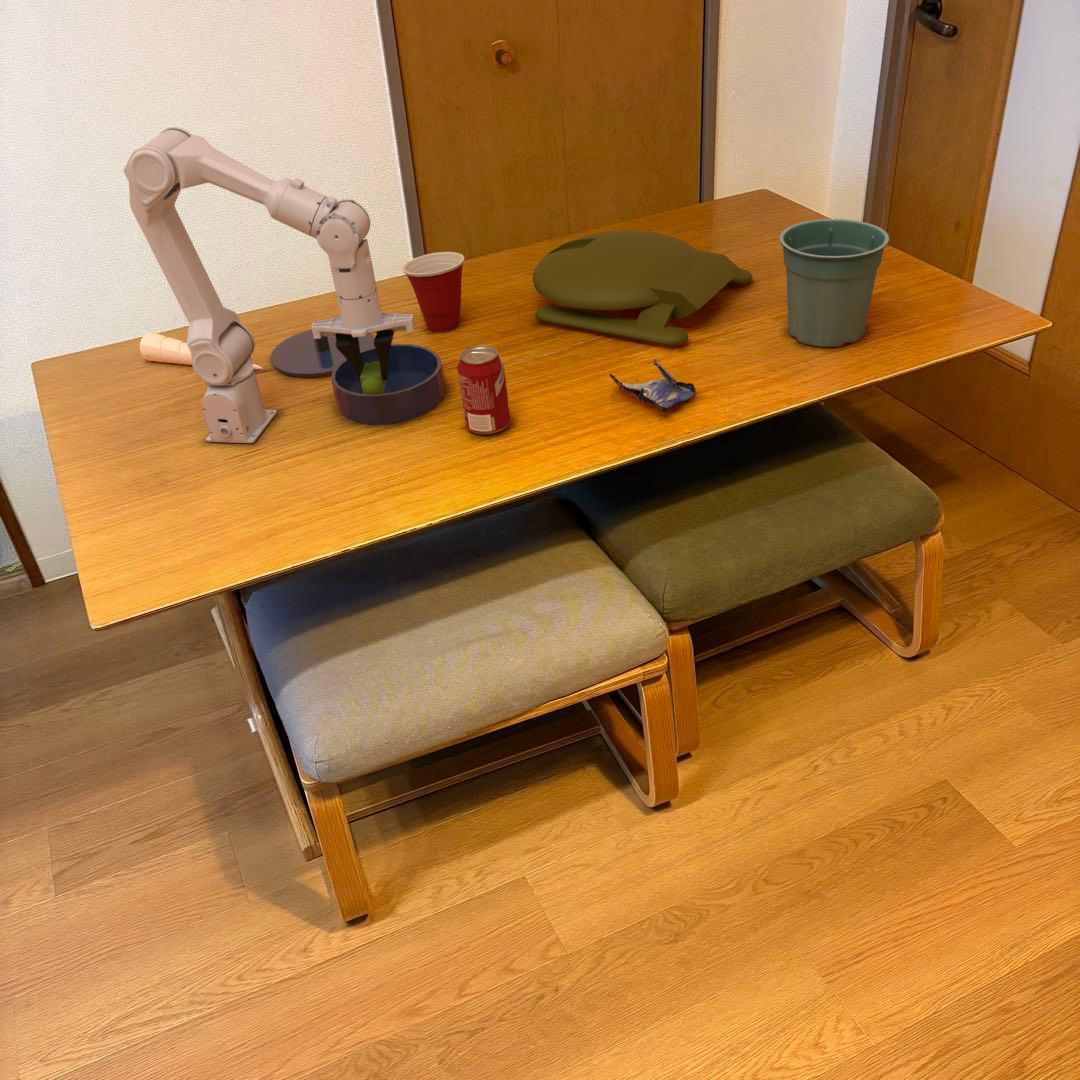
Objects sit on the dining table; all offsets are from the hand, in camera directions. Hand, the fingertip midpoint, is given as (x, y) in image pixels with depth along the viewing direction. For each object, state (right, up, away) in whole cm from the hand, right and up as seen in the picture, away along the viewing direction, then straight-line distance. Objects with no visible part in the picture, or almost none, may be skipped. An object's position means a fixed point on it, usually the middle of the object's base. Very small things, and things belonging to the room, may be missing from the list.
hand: (373, 377), depth 161 cm
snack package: (+42, -3, +5) cm, 42 cm away
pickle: (0, -1, +1) cm, 1 cm away
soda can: (+17, -7, +2) cm, 18 cm away
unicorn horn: (-34, +7, +29) cm, 45 cm away
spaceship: (+41, +19, +34) cm, 56 cm away
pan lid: (-13, +8, +27) cm, 31 cm away
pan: (+1, -1, +12) cm, 13 cm away
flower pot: (+71, +10, +17) cm, 74 cm away
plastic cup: (+7, +14, +33) cm, 36 cm away
